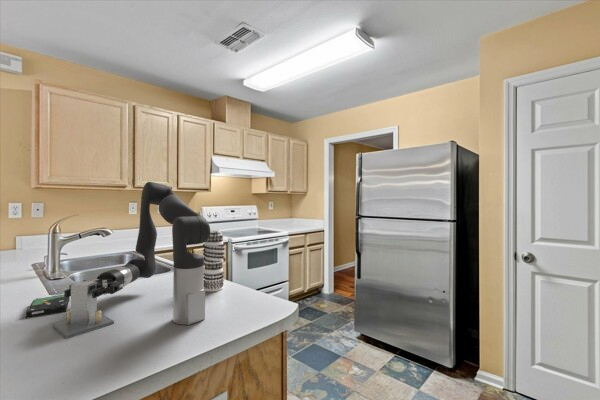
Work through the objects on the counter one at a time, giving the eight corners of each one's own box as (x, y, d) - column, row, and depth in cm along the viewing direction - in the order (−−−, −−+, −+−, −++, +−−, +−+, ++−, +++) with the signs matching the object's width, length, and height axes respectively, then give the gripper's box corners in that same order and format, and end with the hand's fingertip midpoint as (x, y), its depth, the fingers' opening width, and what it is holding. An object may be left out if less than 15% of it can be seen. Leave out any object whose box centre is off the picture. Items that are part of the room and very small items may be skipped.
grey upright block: (96, 319, 91) (97, 281, 91) (87, 325, 87) (87, 285, 87) (80, 319, 91) (80, 281, 91) (70, 325, 87) (70, 285, 87)
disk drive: (67, 313, 99) (69, 300, 111) (67, 305, 99) (69, 292, 111) (25, 320, 93) (33, 305, 105) (25, 311, 93) (33, 298, 105)
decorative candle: (215, 292, 120) (216, 232, 120) (197, 290, 124) (198, 231, 123) (228, 286, 129) (229, 230, 129) (211, 284, 132) (212, 229, 132)
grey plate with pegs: (114, 323, 90) (114, 309, 90) (66, 338, 80) (66, 322, 80) (98, 314, 97) (98, 301, 97) (53, 326, 87) (53, 312, 87)
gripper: (95, 268, 103) (56, 281, 87) (134, 269, 103) (102, 282, 87) (95, 289, 103) (55, 306, 87) (134, 290, 103) (102, 307, 87)
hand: (79, 294), depth 87 cm, fingers open, 8 cm apart
